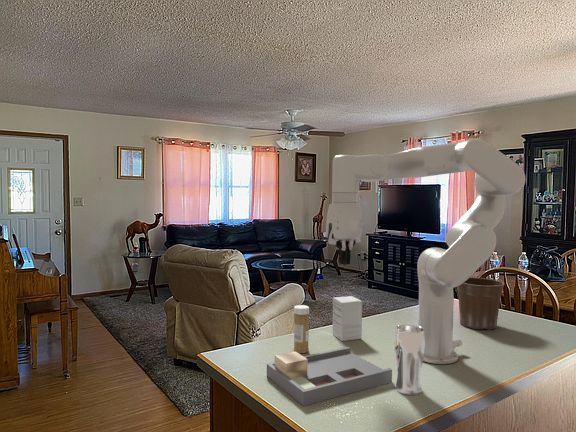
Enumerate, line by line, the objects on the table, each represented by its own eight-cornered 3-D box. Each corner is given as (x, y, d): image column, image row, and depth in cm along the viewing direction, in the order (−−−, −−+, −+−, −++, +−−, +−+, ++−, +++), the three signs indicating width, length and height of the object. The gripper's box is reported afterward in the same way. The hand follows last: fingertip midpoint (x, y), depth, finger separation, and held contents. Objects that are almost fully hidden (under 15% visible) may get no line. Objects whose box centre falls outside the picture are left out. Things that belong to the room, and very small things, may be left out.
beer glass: (389, 383, 107) (391, 324, 106) (417, 383, 108) (418, 323, 107) (399, 396, 100) (400, 333, 100) (428, 396, 101) (430, 332, 100)
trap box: (347, 357, 124) (348, 346, 124) (391, 381, 108) (392, 369, 108) (266, 375, 111) (266, 363, 111) (303, 406, 95) (303, 391, 95)
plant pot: (460, 316, 168) (461, 275, 167) (506, 323, 158) (508, 280, 158) (448, 326, 155) (449, 281, 154) (498, 335, 145) (499, 287, 144)
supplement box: (351, 332, 147) (352, 295, 146) (362, 339, 140) (362, 300, 139) (331, 334, 145) (332, 297, 144) (341, 341, 138) (341, 302, 137)
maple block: (295, 366, 112) (295, 351, 112) (307, 375, 107) (307, 359, 107) (274, 370, 109) (274, 355, 109) (286, 379, 104) (286, 363, 104)
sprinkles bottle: (311, 351, 128) (312, 307, 128) (299, 354, 126) (299, 309, 125) (302, 347, 132) (303, 303, 131) (290, 350, 130) (290, 305, 129)
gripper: (358, 199, 129) (356, 260, 130) (315, 199, 122) (315, 263, 122) (374, 199, 122) (373, 263, 123) (331, 199, 115) (330, 267, 116)
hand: (344, 263), depth 123 cm, fingers closed
